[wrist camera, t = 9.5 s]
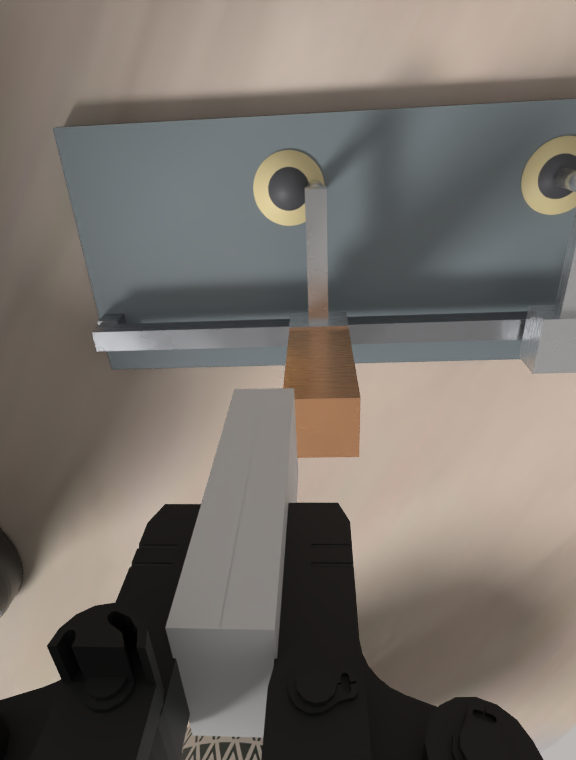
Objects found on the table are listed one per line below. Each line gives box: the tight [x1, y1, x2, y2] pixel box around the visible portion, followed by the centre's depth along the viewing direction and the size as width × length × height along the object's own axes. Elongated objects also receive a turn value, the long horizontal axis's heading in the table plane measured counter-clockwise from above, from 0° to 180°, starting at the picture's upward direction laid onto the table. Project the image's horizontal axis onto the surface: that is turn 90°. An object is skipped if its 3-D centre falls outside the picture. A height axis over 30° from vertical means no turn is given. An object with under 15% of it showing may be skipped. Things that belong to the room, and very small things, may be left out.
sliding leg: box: [283, 180, 360, 458], centre depth 23 cm, size 3×10×11 cm, turn 3°
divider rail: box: [92, 168, 576, 374], centre depth 27 cm, size 29×10×5 cm, turn 93°
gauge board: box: [53, 99, 576, 369], centre depth 29 cm, size 30×14×1 cm, turn 93°
